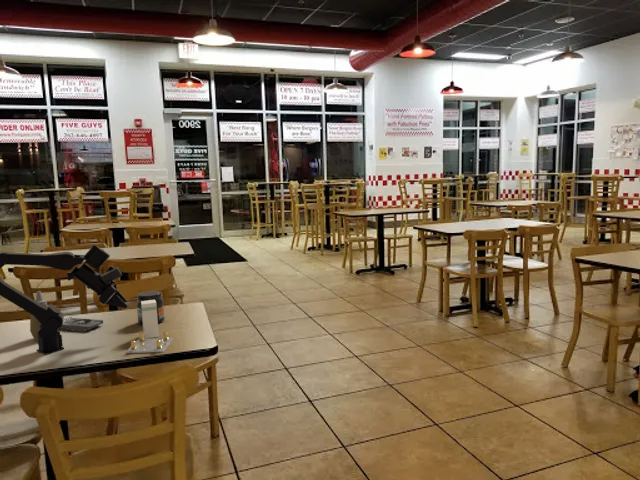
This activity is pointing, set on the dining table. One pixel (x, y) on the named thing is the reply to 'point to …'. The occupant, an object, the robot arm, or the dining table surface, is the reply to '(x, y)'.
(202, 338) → the dining table surface
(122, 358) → the dining table surface
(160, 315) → the supplement container
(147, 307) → the block
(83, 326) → the graphics card
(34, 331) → the squeeze bottle
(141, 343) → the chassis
